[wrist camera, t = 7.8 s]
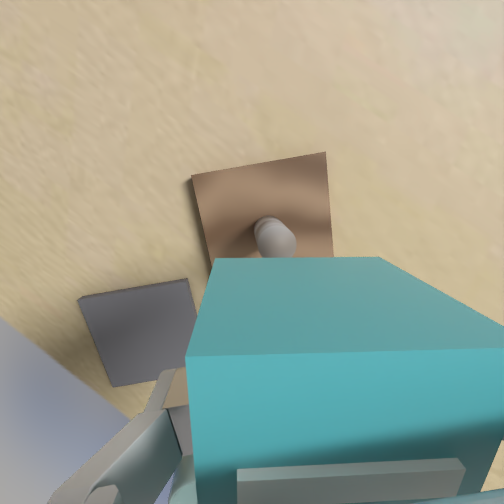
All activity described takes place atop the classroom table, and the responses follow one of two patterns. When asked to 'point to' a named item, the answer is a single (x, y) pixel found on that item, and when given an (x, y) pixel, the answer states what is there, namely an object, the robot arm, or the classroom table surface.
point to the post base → (267, 209)
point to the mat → (141, 329)
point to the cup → (184, 483)
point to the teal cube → (339, 385)
